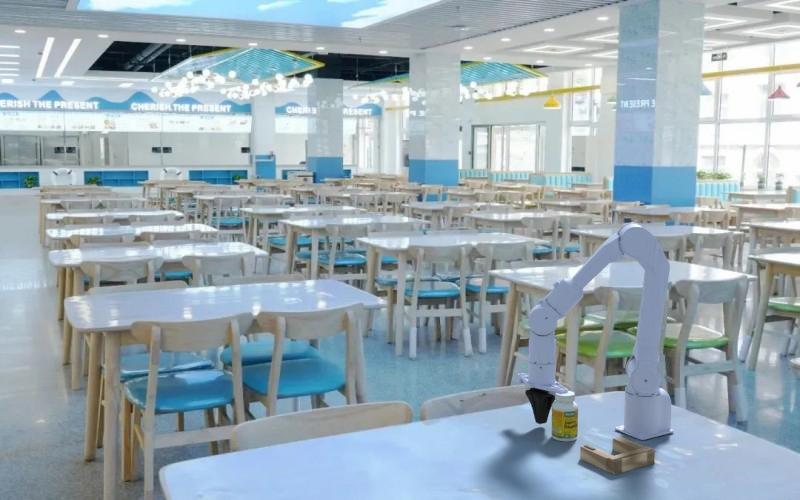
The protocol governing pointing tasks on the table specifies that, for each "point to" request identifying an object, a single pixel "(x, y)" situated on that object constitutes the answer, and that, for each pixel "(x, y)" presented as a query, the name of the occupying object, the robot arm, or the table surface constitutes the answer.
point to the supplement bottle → (564, 417)
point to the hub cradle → (619, 456)
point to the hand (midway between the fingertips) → (541, 422)
